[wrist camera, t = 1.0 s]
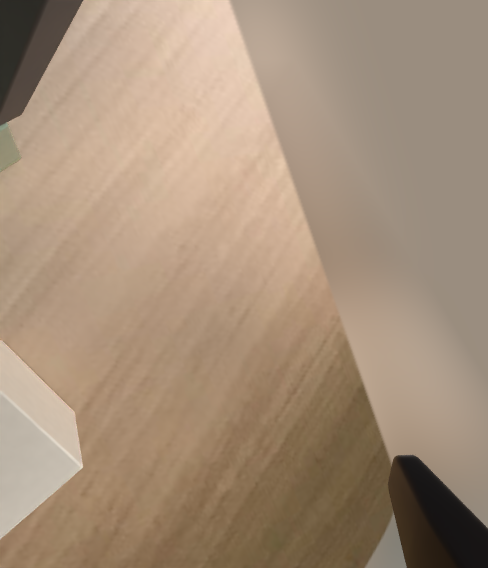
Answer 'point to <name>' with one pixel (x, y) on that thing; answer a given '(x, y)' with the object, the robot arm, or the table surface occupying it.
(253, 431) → the table surface
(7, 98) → the box lid
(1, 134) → the open box
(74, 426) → the white block
